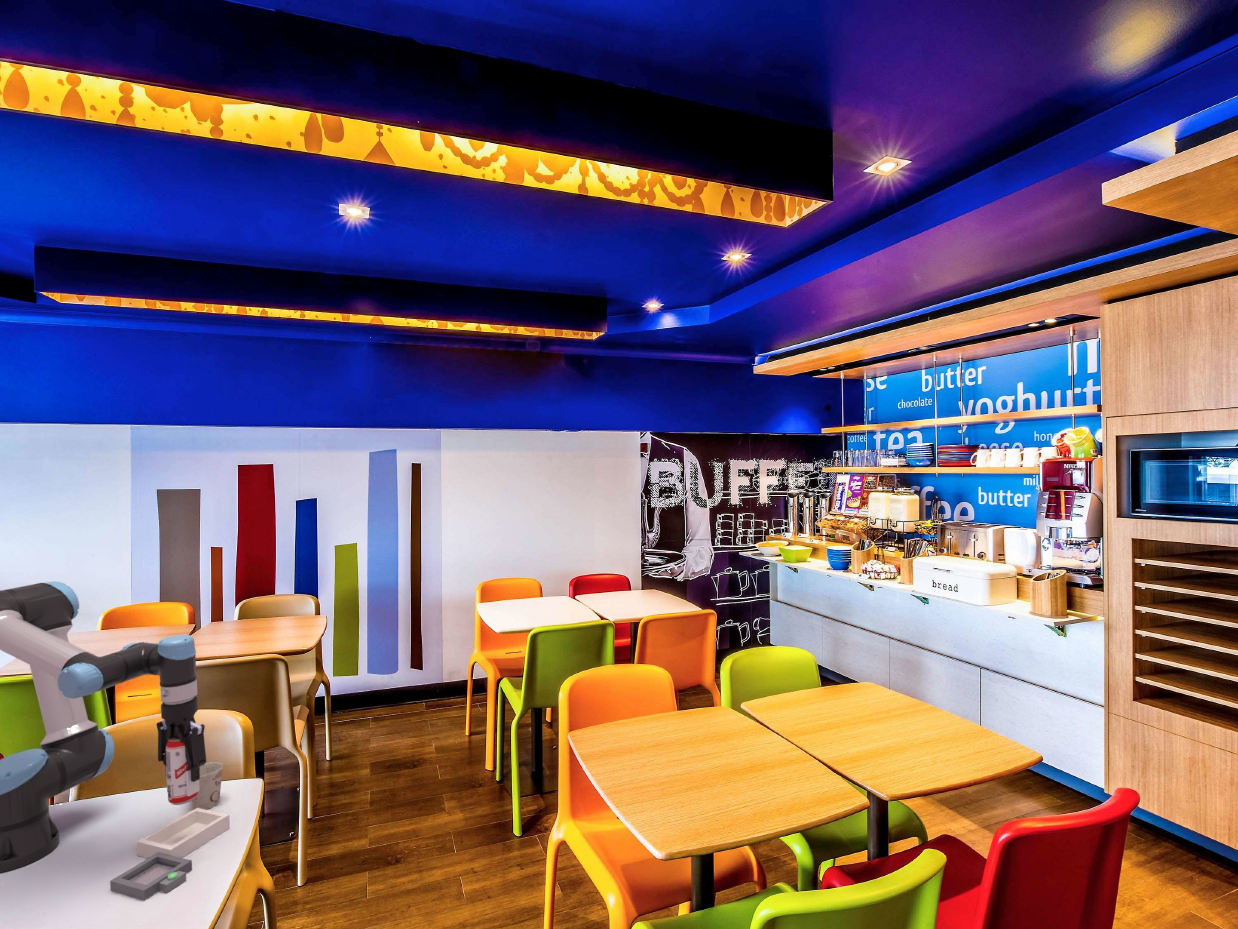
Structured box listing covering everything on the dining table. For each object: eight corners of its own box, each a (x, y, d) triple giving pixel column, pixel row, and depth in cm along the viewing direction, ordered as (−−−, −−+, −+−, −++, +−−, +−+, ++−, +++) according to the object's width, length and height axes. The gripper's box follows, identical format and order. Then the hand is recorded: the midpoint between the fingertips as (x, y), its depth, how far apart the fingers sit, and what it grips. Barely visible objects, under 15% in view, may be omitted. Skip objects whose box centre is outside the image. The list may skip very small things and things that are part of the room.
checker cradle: (110, 890, 144) (110, 879, 144) (159, 861, 154) (158, 850, 154) (152, 903, 139) (151, 891, 139) (199, 871, 150) (199, 861, 150)
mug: (206, 814, 174) (205, 777, 174) (167, 810, 176) (166, 774, 176) (231, 798, 182) (229, 763, 182) (193, 794, 185) (192, 759, 184)
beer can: (163, 802, 160) (160, 738, 160) (191, 790, 166) (188, 728, 165) (175, 809, 157) (172, 743, 157) (203, 797, 162) (200, 733, 162)
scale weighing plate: (124, 886, 145) (124, 883, 145) (156, 866, 152) (156, 863, 152) (147, 892, 143) (147, 889, 143) (178, 872, 149) (178, 869, 149)
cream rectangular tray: (137, 856, 156) (136, 841, 156) (197, 821, 171) (197, 807, 171) (171, 864, 153) (170, 850, 152) (229, 828, 167) (229, 814, 167)
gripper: (136, 701, 161) (141, 793, 161) (192, 709, 154) (197, 805, 155) (166, 690, 168) (170, 778, 168) (221, 697, 161) (225, 789, 162)
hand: (183, 791), depth 161 cm, fingers closed on beer can, 6 cm apart
